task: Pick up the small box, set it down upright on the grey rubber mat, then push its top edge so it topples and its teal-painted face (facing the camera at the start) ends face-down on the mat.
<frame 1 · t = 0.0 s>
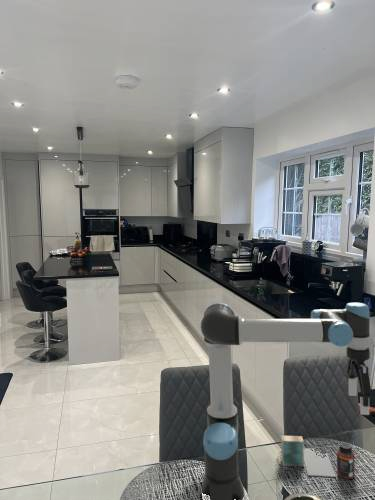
hand: (358, 404, 130), 28 cm above the table, fingers open, 13 cm apart
supplement bottle: (345, 474, 134), on the table
small box: (292, 462, 142), on the table
grey mat: (317, 462, 142), on the table
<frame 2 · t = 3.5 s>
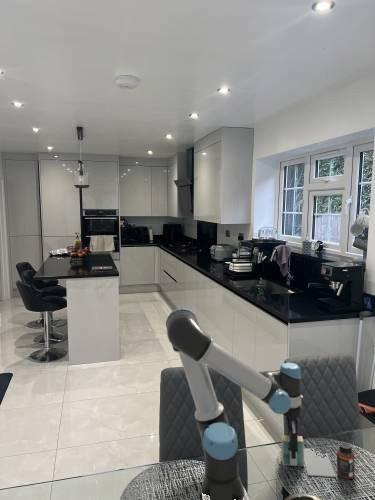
hand: (292, 461, 142), 1 cm above the table, fingers closed on small box, 4 cm apart
small box: (292, 462, 142), on the table, touching gripper
everything else where it was.
when the fingers open (2 cm above the table, at t = 7.4 s): small box drops 1 cm, resting on grey mat.
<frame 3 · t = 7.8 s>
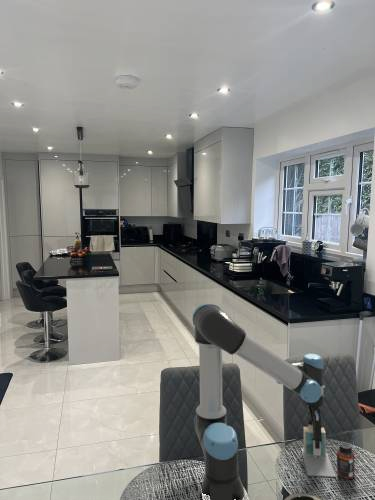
hand: (314, 447, 146), 3 cm above the table, fingers open, 9 cm apart
small box: (314, 453, 147), resting on grey mat
everything else where it was.
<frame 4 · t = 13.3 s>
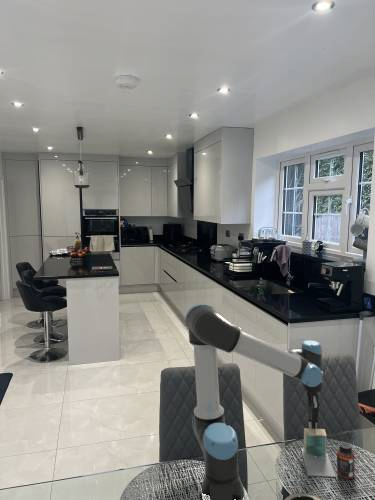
hand: (313, 435, 148), 7 cm above the table, fingers closed
small box: (314, 452, 147), point 1 cm above the table, tilted 10°, touching grey mat
everything else where it was.
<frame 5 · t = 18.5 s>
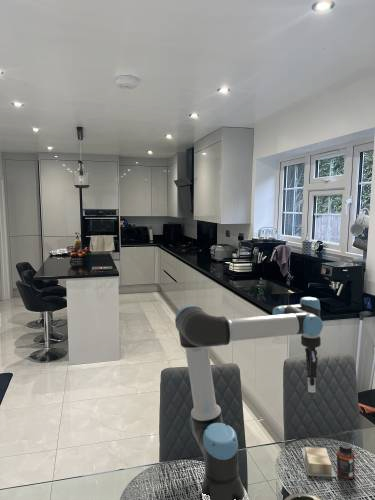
hand: (311, 391, 149), 24 cm above the table, fingers closed
small box: (315, 451, 145), point 2 cm above the table, tilted 90°, touching grey mat
everything else where it was.
at the end: small box tilted 90°; small box inside the target area (2.2 cm from its centre), point 2.2 cm above the table; the gripper is holding nothing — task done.
